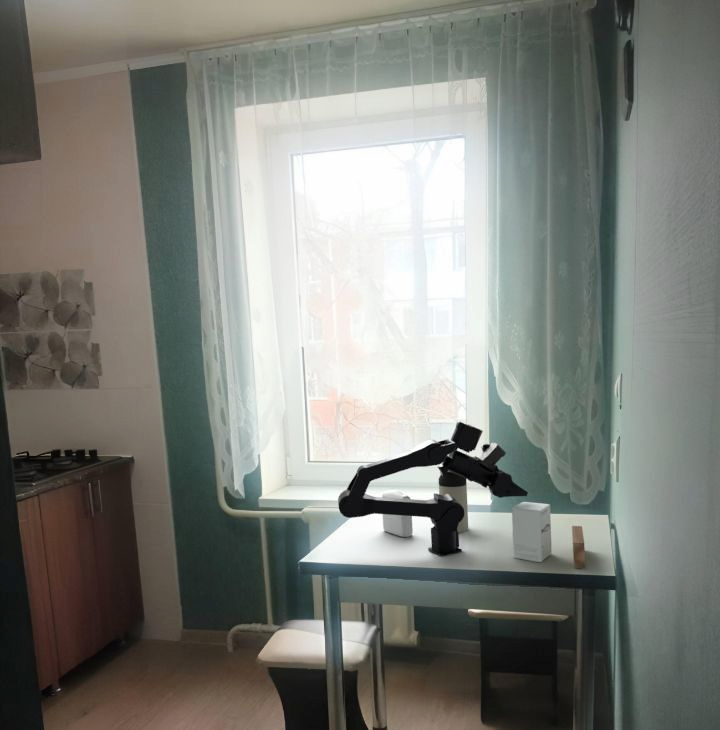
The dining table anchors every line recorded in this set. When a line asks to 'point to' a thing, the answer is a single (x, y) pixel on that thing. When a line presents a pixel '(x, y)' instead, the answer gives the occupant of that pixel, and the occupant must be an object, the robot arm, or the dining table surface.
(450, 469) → the robot arm
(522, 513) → the supplement box
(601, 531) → the dining table surface
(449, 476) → the travel mug
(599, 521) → the dining table surface
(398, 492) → the photo printer
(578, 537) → the board
